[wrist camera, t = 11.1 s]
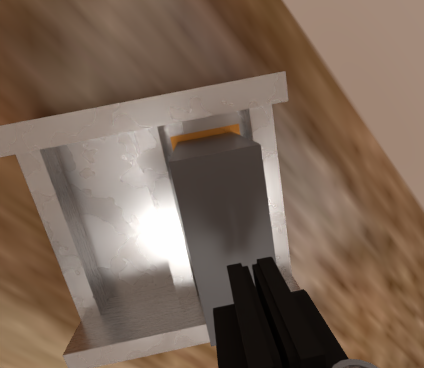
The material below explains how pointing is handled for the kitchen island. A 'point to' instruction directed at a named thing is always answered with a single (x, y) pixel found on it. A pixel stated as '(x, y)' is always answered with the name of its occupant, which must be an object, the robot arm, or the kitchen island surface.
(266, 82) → the rack
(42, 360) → the kitchen island surface
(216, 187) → the panel
